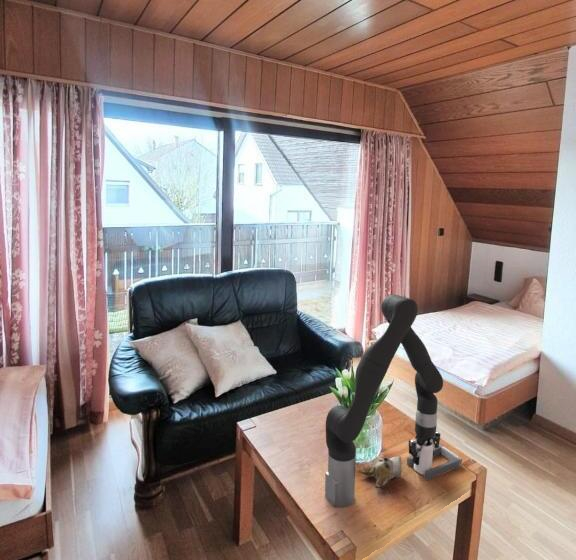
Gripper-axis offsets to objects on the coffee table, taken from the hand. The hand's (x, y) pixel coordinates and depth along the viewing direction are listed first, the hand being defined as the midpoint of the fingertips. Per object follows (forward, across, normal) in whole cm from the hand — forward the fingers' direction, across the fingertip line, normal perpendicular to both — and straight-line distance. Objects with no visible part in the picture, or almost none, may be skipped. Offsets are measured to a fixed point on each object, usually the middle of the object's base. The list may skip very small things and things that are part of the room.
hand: (423, 461), depth 163 cm
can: (+4, 0, 0) cm, 4 cm away
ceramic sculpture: (+4, -16, +3) cm, 17 cm away
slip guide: (+4, +6, 0) cm, 7 cm away
